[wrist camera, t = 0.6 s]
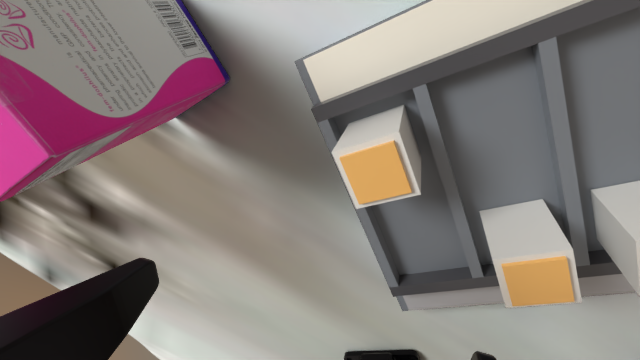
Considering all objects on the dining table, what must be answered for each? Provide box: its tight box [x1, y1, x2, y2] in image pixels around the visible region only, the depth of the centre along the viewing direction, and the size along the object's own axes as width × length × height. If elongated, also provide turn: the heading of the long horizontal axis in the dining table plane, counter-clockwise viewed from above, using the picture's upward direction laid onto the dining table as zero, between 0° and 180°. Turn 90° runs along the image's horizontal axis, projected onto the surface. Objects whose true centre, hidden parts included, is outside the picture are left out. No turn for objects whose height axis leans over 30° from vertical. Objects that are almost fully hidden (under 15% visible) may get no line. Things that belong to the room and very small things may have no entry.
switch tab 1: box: [332, 105, 421, 209], centre depth 16 cm, size 3×3×4 cm
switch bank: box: [295, 0, 640, 311], centre depth 17 cm, size 18×16×2 cm
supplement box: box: [0, 0, 230, 202], centre depth 16 cm, size 6×6×12 cm
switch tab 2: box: [479, 199, 582, 308], centre depth 16 cm, size 3×3×4 cm
